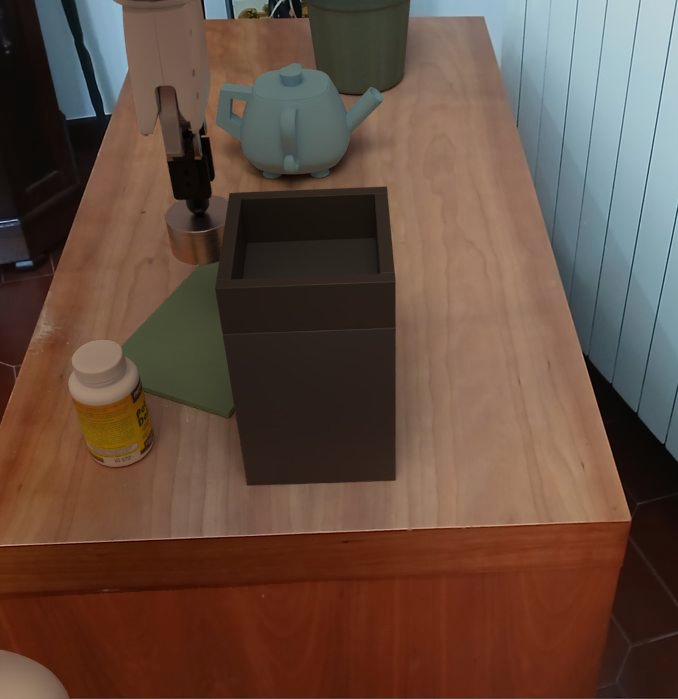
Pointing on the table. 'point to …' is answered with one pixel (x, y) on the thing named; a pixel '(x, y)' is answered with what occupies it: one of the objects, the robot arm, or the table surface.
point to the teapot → (293, 120)
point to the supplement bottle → (110, 404)
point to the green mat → (185, 347)
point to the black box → (311, 333)
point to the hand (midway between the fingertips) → (194, 187)
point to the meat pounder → (197, 228)
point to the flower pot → (360, 42)
